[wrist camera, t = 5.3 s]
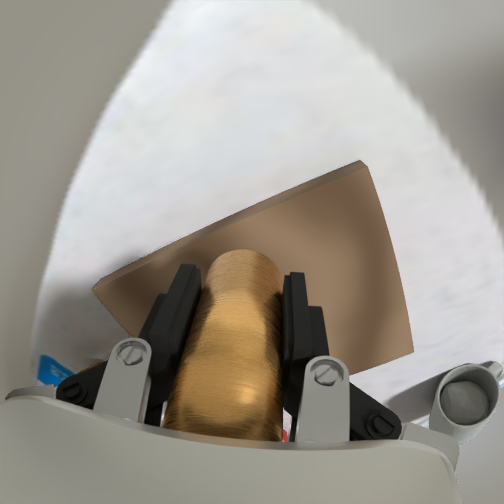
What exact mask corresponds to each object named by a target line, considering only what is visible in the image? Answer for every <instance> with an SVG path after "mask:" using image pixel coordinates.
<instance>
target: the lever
mask: <svg viewBox="0 0 504 504" xmlns="http://www.w3.org/2000/svg"><path fill="white" fill-rule="evenodd" d="M161 428H166V429H171V430H176V431H182V432H188V433H194V434H201V435H208V436H215V437H224V438H233V439H244V440H257V441H274V442H283V338H282V277H281V273H280V271H279V269H278V267H277V266H276V264H275V263H274V262H273V261H272V260H271V259H269V258H268V257H267V256H265V255H263V254H261V253H259V252H256V251H252V250H243V249H241V250H233V251H229V252H226V253H224V254H222V255H221V256H219V257H218V258H217V259H216V260H215V261H214V262H213V263H212V265H211V266H210V269H209V271H208V274H207V277H206V280H205V283H204V286H203V289H202V292H201V296H200V299H199V302H198V305H197V308H196V311H195V314H194V317H193V320H192V324H191V327H190V330H189V333H188V336H187V340H186V343H185V346H184V349H183V353H182V356H181V359H180V362H179V366H178V369H177V372H176V376H175V379H174V383H173V386H172V389H171V393H170V396H169V400H168V403H167V407H166V410H165V414H164V417H163V421H162V424H161Z"/></svg>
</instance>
